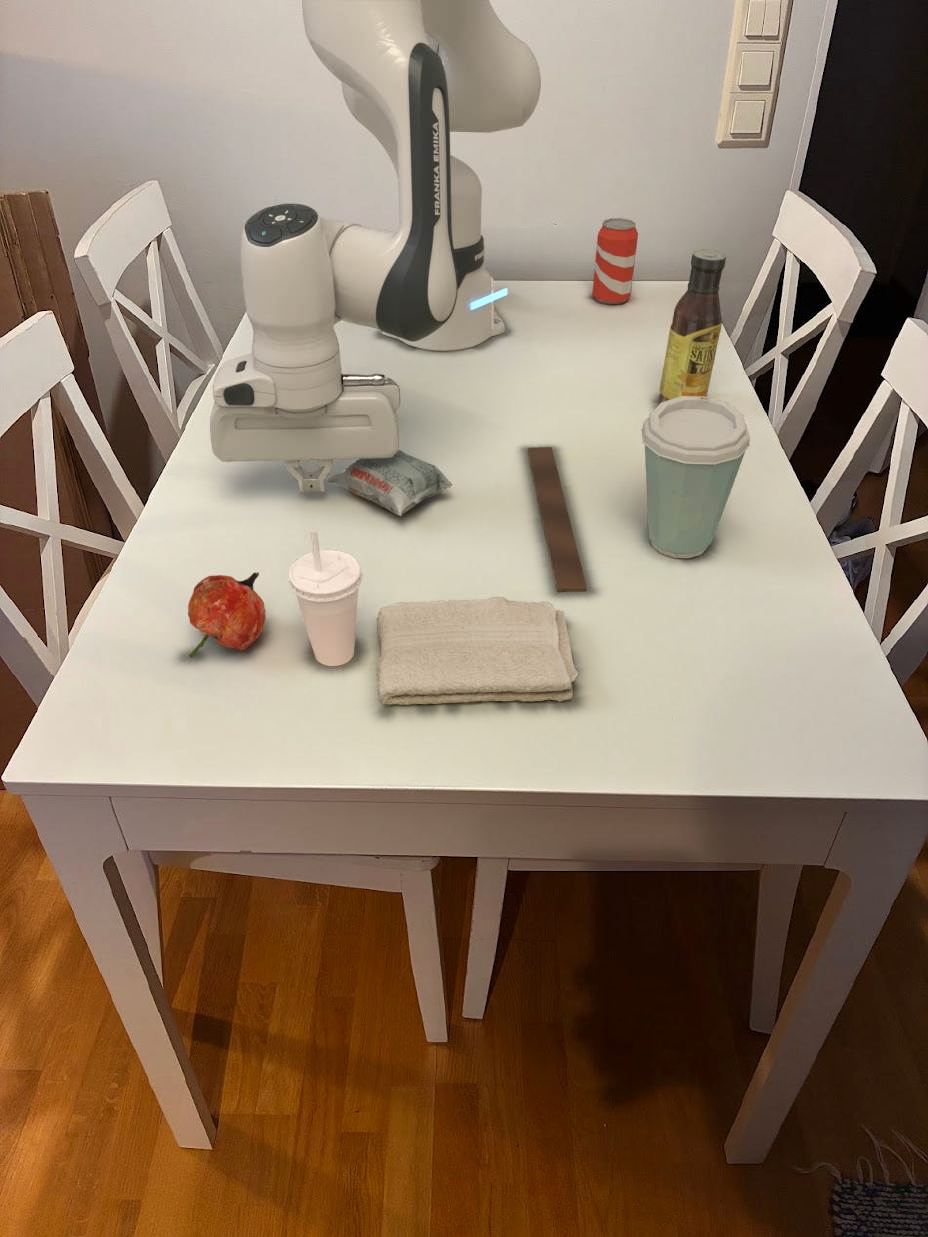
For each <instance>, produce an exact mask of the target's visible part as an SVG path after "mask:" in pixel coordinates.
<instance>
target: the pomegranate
mask: <svg viewBox="0 0 928 1237" xmlns="http://www.w3.org/2000/svg"><path fill="white" fill-rule="evenodd" d="M259 576H260V572H253V573H252V574H250V576H248V578H245V579H244V580H237V579H236V578H234V577H233V576H231V575H222V574H220V575H217V574H215V575H208V576H206V577H204V578H203V579H201V580H200V581H199V582H197V583H196V585H195V586H194V588H193V591H192V595H191V596H190V599H189V602H188V605H187V616H188V618H189V623H190V625H191V626H193V628H195V629H196V630H199V631H200V632H201V633H203V634H205V635H204V636H203V638H202V640H201V641H200V642H199V643H198V644H197V645H196V647H195V648H194V649H193V650H192V651H190V654H188V657H190V658H192V657H193V656H194V655H195V654H196V653H198V651H199V650H200V648H202V647H203V646H205V643H206V642H207V640H208V639H209V638H210V637H212V638H213V639H215V640H216V642H217V643H218V644H219V645H221V646H222V647H226V648H231V649H234V650H235V651H237V652H241V651H244V650H246V649H248V648H249V647H250V646H251V645H253V643H254V642H255V641H256V640H257V639H258V638H259V637H260V636H261V634H262V631H263V628H264V626H265V624H266V621H267V620H266V619H267V616H266V615H267V613H266V607H265V602H264V600H263V599H262V597H261V596H260V595H259V594H258V592H256V590H255V589H254V583H255V582H256V579H257V578H258V577H259Z"/></svg>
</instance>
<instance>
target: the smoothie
mask: <svg viewBox="0 0 928 1237" xmlns="http://www.w3.org/2000/svg"><path fill="white" fill-rule="evenodd" d="M309 532H310V539H311V548H312V552H309V553H306V554H304V555H302V556H301V557H299V558H297V559H296V560H295V561H294V562H293V563H292V564H291V565H290V567H289V569H288V585H289V588H290V590H291V591H292V593H293V594H294V595H295V597H296V600H297V604H298V606H299V610H300V612H301V616H302V619H303V623H304V625H305V628H306V633H307V634H308V638H309V642H310V645H311V648H312V652H313V654H314V658H315V660H316V661H317V662H318V663H319V664H321V665H323V666H327V667H338V666H339V667H340V666H342V665H344V664H347V663H348V662H350V661H351V660H352V659H353V657H354V655H355V650H356V649H355V648H356V647H355V646H356V631H357V630H356V629H357V618H358V617H357V615H358V601H359V600H358V598H359V588H360V586H361V584H362V582H363V577H364V576H363V572H362V566H361V563H360V562H359V560H358V559H357V558H356V557H355V556H353V555H351V554H350V553H347V552H345V551H342V550H336V549H321V550H320V544H319V543H320V542H319V537H318V536H319V535H318V530H317V529H316V528H312V529H310V531H309Z"/></svg>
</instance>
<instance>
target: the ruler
mask: <svg viewBox="0 0 928 1237" xmlns="http://www.w3.org/2000/svg"><path fill="white" fill-rule="evenodd" d="M526 452H527V455H528V461H529V466H530V469H531V470H530V471H531V475H532V480H533V485H534V490H535V493H536V494H535V495H536V498H537V503H538V508H539V513H540V518H541V523H542V527H543V533H544V536H545V541H546V546H547V551H548V555H549V560H550V565H551V570H552V574H553V580H554V584H555V589H556V592H587V589H588V588H587V583H586V580H585V575H584V572H583V567H582V563H581V559H580V555H579V551H578V548H577V542H576V539H575V535H574V531H573V527H572V523H571V518H570V515H569V511H568V508H567V503H566V499H565V495H564V492H563V487H562V483H561V480H560V475H559V471H558V467H557V464H556V460H555V456H554V451H553V447H552V446H543V447H542V446H539V447H538V446H537V447H536V446H535V447H534V446H533V447H532V446H531V447H527V449H526Z"/></svg>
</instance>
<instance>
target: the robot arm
mask: <svg viewBox="0 0 928 1237" xmlns="http://www.w3.org/2000/svg"><path fill="white" fill-rule="evenodd" d="M301 5H302V6H301V8H302V20H303V26H304V32H305V35H306V37H307V40H308V42H309V44H310V46H311V48H312V50H313V52H314V53H315V55H316V57H317V58H318V59H319V61H320V62H321V63H322V65H323V66H324V67H325V68H326V69H327V70H328V72H330V73H331V74H332V75H333V76H334V77H335V78H336V79H338V80H339V81H340V82H341V92H342V96H343V99H344V102H345V105H346V107H347V108H348V111H349V112H350V113H351V115H352V116H353V118H354V119H355V120H356V121H357V123H359V124H360V125H361V126H363V127H364V128H365V129H366V130H368V131H369V132H370V133H371V134H372V136H374V137H375V138H376V140H377V141H378V142H379V143H380V145H381V146H382V148H383V149H384V151H385V152H386V153H387V155H388V157H389V159H390V161H391V163H392V165H393V168H394V170H395V173H396V176H397V183H398V185H397V186H398V187H397V188H398V213H399V214H398V216H399V226H398V230H397V231H392V230H386V229H381V228H376V227H370V226H365V225H362V224H359V223H354V222H349V221H344V220H338V219H332V218H327V217H323V216H320V214H319V213H318V212H317V211H316V209H314V208H312V207H310V206H308V205H306V204H301V203H280V204H275V205H272V206H268V207H265V208H263V209H260V210H259V211H257V212H255V213H254V214H253V215H251V216H250V217H249V218H248V219H247V220H246V222H245V223H244V225H243V228H242V233H241V240H240V274H241V282H242V283H241V285H242V291H243V292H242V294H243V300H244V306H245V308H244V309H245V312H246V316H247V318H248V320H249V322H250V324H251V327H252V341H251V342H252V343H251V352H250V353H246V354H244V355H241V356H237V357H234V358H231V359H228V360H226V361H224V362H223V363H221V365H220V367H219V368H218V370H217V372H216V374H215V376H214V381H213V385H212V398H213V401H214V403H213V406H212V410H211V413H210V416H209V434H210V435H209V436H210V443H211V450H212V454H213V455H214V457H215V458H217V459H218V460H219V461H220V462H222V463H232V462H233V463H234V462H235V463H236V462H274V461H275V462H277V461H278V462H279V461H284V464H285V468H286V469H287V471H288V472H289V473H290V475H292V477H293V478H294V479H295V480H296V481H297V485H298V492H299V493H306V492H307V493H308V492H310V493H311V492H325V491H326V486H327V485H326V484H327V480H326V479H327V478H326V477H327V476H328V474H329V473H330V471H331V470H332V467H333V460H358V459H364V458H392V457H393V456H394V455H395V454H396V453H397V452H398V450H400V430H399V423H398V417H397V411H398V410H399V408H400V406H401V388H400V386H399V384H398V383H397V382H396V381H395V380H394V379H393V378H389V377H386V374H383V373H372V374H359V373H348V374H347V373H342V361H341V351H340V350H341V349H340V341H339V339H338V336H337V333H336V331H335V325H336V324H338V323H339V322H341V321H342V322H345V323H349V324H355V325H358V326H363V327H366V328H371V329H376V330H379V331H380V332H381V334H382V335H383V336H385V337H389V338H394V339H397V340H399V341H400V342H403V343H404V344H406V345H409V346H411V347H414V348H418V349H422V350H427V351H428V350H429V351H440V352H441V351H457V350H464V349H469V348H472V347H475V346H478V345H480V344H482V343H484V342H486V341H487V340H488V339H490V338H491V337H494V336H498V335H501V334H504V333H505V332H506V325H505V323H504V321H503V320H502V318H501V317H500V315H499V314H498V313H497V312H496V310H495V309H494V308H495V306H494V304H495V303H494V301H497V300H499V299H500V298H503V297H506V296H508V288H506V287H505V288H503V289H501V290H498V291H496V292H494V278H493V277H492V276H491V274H490V273H489V271H487V270H486V269H485V267H484V263H485V250H486V249H485V248H486V247H485V239H484V238H485V237H484V236H483V234H482V197H483V196H482V194H483V193H482V191H483V188H482V184H481V181H480V178H479V176H478V175H477V173H476V171H475V170H474V169H473V168H472V167H470V165H468V164H467V163H466V162H464V161H462V160H461V159H459V158H457V157H455V156H453V155H452V154H451V133H479V134H481V133H486V134H490V133H495V132H501V131H506V130H507V131H508V130H513V129H515V128H520V127H523V126H524V125H525V124H526V123H527V122H528V121H529V120H530V119H531V117H532V115H533V113H534V112H535V110H536V109H537V106H538V102H539V100H540V95H541V90H542V89H541V87H542V78H541V76H542V75H541V71H540V70H541V69H540V66H539V63H538V60H537V58H536V56H535V54H534V52H533V50H532V49H531V48H530V46H529V45H528V44H527V43H526V42H525V41H523V40H521V39H520V38H519V37H517V36H516V35H515V34H513V32H511V31H510V30H509V29H508V28H507V27H506V26H505V25H504V23H503V22H502V21H501V19H500V18H499V16H498V14H497V12H496V11H495V10H494V8H493V6H492V4H491V1H490V0H301ZM300 461H318V465H319V467H320V468H319V469H318V470H313V471H310V470H309V471H306V470H304V468H303V467H302V466H301V464H300Z"/></svg>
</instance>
